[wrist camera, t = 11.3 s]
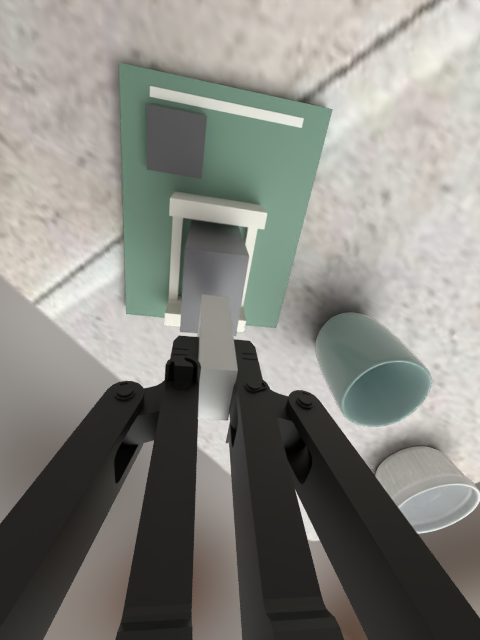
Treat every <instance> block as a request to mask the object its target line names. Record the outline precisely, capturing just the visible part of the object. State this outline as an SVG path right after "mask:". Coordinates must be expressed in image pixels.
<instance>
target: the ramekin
mask: <svg viewBox="0 0 480 640" xmlns="http://www.w3.org/2000/svg"><path fill="white" fill-rule="evenodd" d="M375 477H376V478H377V479H378V481H379V482H380V483H381V485H382V486H383V488H384V489H385V490H386V492H387V493H388V494H389V496H390V497H391V498H392V500H393V501H394V502H395V504H396V505H397V507H398V508H399V509H400V511H401V512H402V513H403V515H404V516H405V517H406V519H407V520H408V521H409V523H410V524H411V526H412V527H413V528H414V530H415V531H416V532H417V533H425V532H430V531H435V530H438V529H441V528H444V527H447V526H449V525H451V524H453V523H455V522H457V521H459V520H461V519H462V518H464V517H465V516H467V515H468V514H469V513H471V512H472V511H473V510H474V509H475V508H476V506H477V504H478V503H479V501H480V492H479V490H478V489H477V488H476V486H475V484H474V483H473V482H472V481H471V480H470V479H468V478H466V477H465V475H464V474H463V473H462V472H461V471H460V470H459V469H458V468H457V467H456V466H455V465H454V464H453V463H452V462H451V461H450V460H449V459H448V458H447V457H446V456H445V455H444V454H443V453H442V452H440V451H439V450H436V449H433V448H430V447H426V446H415V447H410V448H406V449H403V450H400V451H398V452H396V453H394V454H392V455H390V456H389V457H387V458H386V459H385V460H384V461H383V462H382V463H381V464H380V465H379V467H378V468H377V471H376V475H375Z"/></svg>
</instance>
